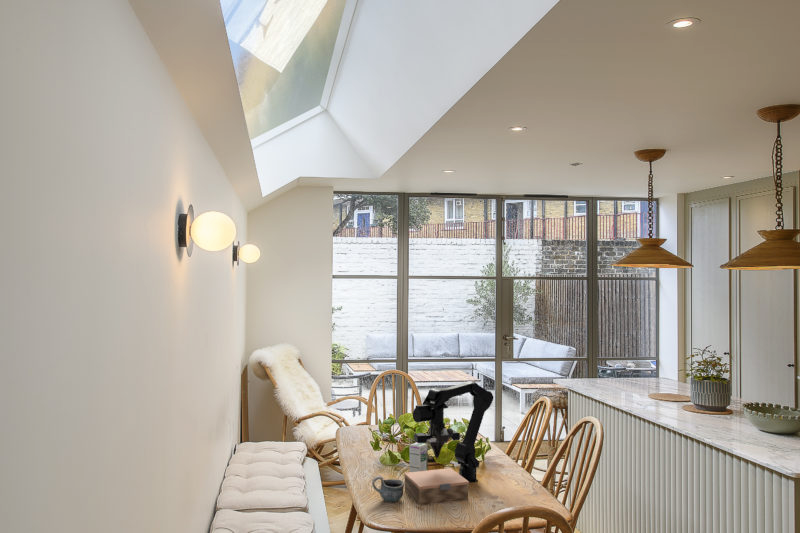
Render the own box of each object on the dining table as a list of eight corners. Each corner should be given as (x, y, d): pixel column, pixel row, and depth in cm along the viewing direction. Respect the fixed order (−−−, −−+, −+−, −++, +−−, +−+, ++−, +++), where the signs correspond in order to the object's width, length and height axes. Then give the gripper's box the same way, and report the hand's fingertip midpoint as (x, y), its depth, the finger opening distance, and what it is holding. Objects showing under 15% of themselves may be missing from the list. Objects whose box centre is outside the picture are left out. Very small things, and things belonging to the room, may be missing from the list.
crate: (450, 485, 256) (450, 470, 256) (468, 499, 238) (468, 484, 239) (404, 490, 249) (404, 475, 250) (419, 505, 232) (419, 489, 232)
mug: (408, 502, 235) (408, 476, 235) (378, 508, 230) (378, 481, 230) (397, 495, 244) (397, 469, 244) (368, 499, 238) (368, 473, 239)
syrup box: (420, 480, 262) (420, 446, 262) (409, 477, 266) (409, 444, 266) (427, 477, 267) (427, 443, 267) (416, 474, 270) (416, 441, 271)
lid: (450, 472, 256) (450, 467, 256) (469, 486, 238) (469, 481, 238) (404, 477, 249) (404, 472, 249) (420, 492, 231) (420, 486, 231)
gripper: (422, 425, 244) (422, 465, 243) (465, 422, 250) (465, 461, 249) (413, 419, 255) (413, 457, 254) (454, 416, 260) (454, 453, 260)
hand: (436, 457), depth 254 cm, fingers closed
